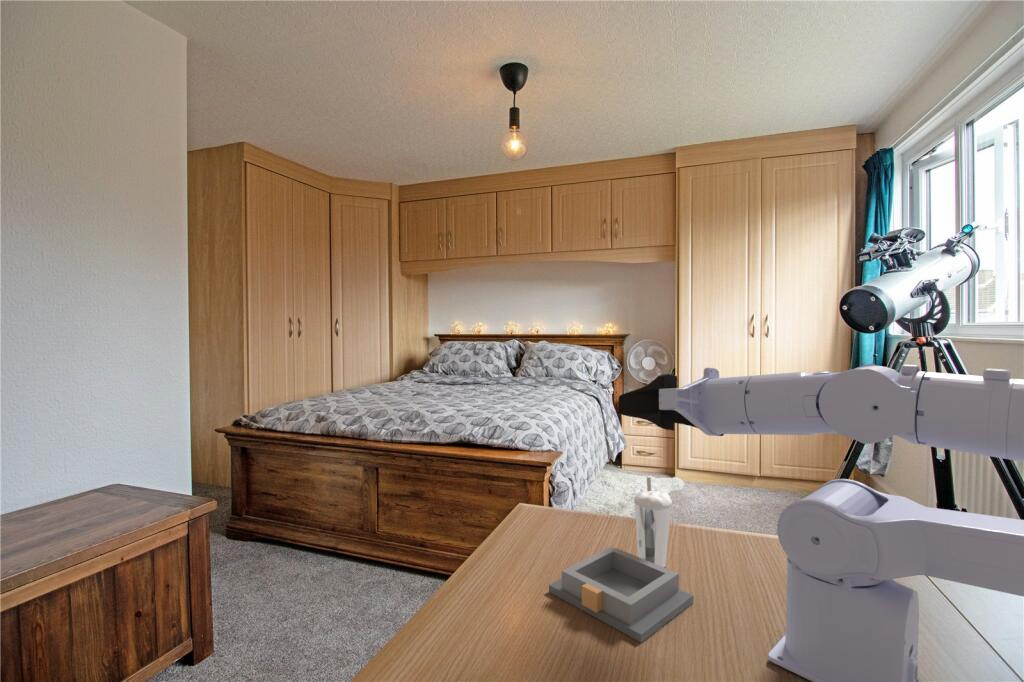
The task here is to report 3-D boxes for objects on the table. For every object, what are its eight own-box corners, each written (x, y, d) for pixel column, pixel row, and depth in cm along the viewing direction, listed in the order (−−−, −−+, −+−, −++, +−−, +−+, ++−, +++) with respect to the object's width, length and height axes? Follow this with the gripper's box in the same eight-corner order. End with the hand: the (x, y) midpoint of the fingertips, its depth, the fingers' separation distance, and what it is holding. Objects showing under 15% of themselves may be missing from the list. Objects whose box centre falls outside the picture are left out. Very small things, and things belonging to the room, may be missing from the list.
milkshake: (665, 553, 65) (666, 478, 65) (674, 574, 60) (675, 492, 60) (630, 551, 66) (630, 476, 65) (636, 572, 60) (637, 490, 60)
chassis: (693, 602, 54) (693, 577, 54) (639, 644, 47) (639, 615, 47) (603, 562, 63) (603, 540, 63) (547, 592, 56) (547, 568, 56)
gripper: (787, 374, 54) (675, 382, 64) (719, 351, 45) (601, 365, 55) (791, 440, 52) (676, 438, 63) (721, 431, 43) (600, 430, 54)
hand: (641, 408), depth 59 cm, fingers open, 7 cm apart
